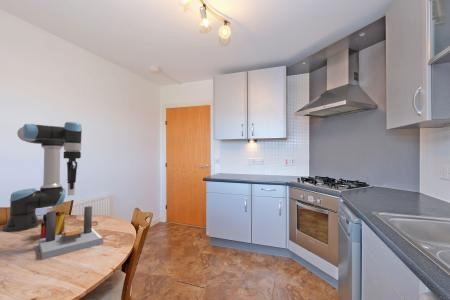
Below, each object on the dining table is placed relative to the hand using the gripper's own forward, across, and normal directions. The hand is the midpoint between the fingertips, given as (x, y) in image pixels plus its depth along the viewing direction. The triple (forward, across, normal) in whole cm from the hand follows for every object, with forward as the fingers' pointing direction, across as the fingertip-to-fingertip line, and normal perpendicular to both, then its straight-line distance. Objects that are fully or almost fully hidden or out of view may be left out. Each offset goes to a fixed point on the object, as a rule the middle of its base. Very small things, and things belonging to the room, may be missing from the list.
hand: (71, 195), depth 112 cm
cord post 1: (+22, +1, -8) cm, 23 cm away
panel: (+25, +6, 0) cm, 25 cm away
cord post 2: (+22, +1, +8) cm, 23 cm away
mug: (+25, -14, -5) cm, 29 cm away
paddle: (+19, +6, 0) cm, 19 cm away
